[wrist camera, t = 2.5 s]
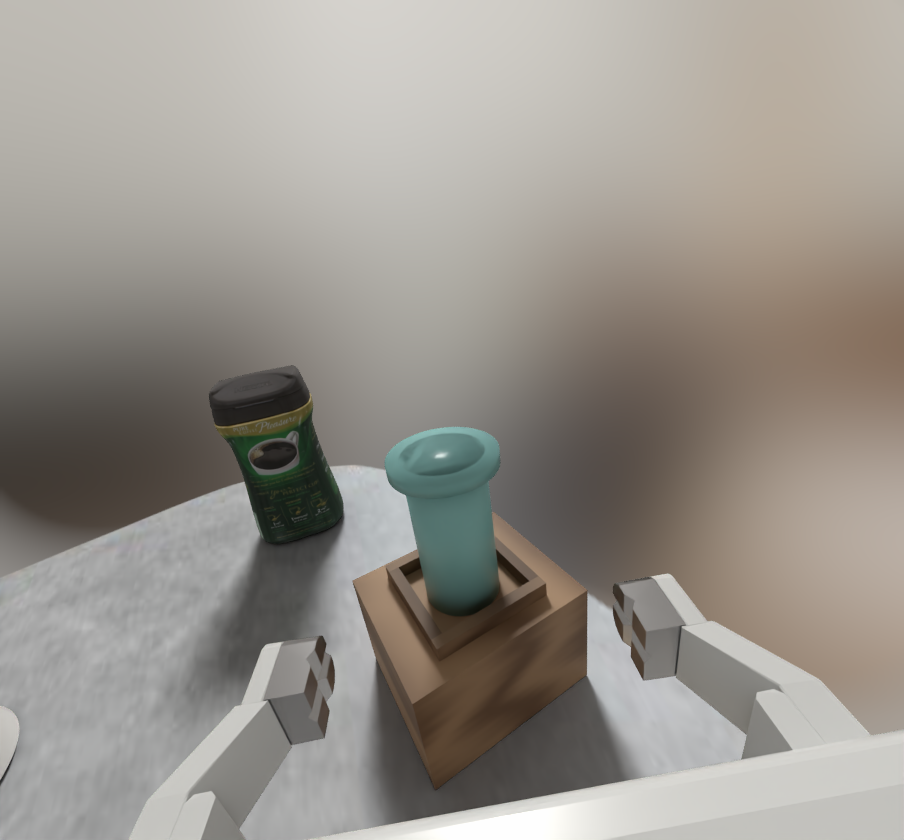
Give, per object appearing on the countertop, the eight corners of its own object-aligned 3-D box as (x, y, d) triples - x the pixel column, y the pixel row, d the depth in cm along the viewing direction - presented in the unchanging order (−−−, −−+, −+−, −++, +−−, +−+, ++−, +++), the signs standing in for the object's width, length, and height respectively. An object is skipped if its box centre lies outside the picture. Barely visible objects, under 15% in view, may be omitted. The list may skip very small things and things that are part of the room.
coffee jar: (342, 492, 55) (303, 355, 47) (348, 528, 48) (302, 373, 40) (264, 514, 52) (209, 373, 45) (258, 555, 45) (192, 396, 38)
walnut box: (435, 790, 24) (408, 691, 20) (375, 657, 32) (349, 570, 29) (586, 674, 29) (587, 578, 25) (501, 584, 37) (492, 501, 33)
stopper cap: (443, 647, 23) (414, 501, 19) (399, 578, 29) (368, 451, 25) (532, 593, 26) (523, 454, 22) (477, 538, 31) (461, 417, 27)
